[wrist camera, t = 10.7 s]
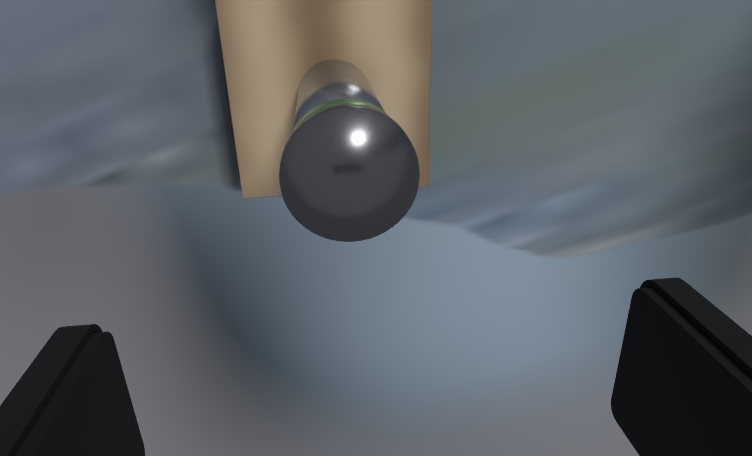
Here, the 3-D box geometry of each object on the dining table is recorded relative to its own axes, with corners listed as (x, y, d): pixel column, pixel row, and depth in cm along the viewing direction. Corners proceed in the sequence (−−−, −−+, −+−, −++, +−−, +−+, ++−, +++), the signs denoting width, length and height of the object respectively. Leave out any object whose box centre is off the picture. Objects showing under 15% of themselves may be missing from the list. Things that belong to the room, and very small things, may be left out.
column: (375, 52, 32) (420, 104, 18) (377, 135, 34) (419, 236, 20) (288, 55, 31) (271, 112, 18) (296, 140, 33) (286, 246, 20)
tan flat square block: (421, -15, 33) (431, -14, 30) (420, 171, 38) (428, 186, 35) (218, -8, 32) (210, -7, 29) (245, 182, 37) (239, 198, 34)
